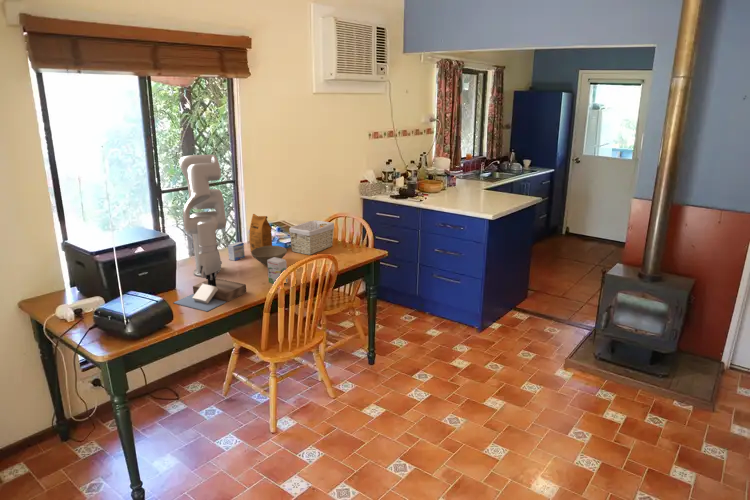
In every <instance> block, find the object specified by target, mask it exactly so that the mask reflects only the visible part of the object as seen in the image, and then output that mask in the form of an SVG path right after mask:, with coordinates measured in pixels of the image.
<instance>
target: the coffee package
mask: <svg viewBox="0 0 750 500" xmlns="http://www.w3.org/2000/svg"><path fill="white" fill-rule="evenodd" d="M268 219H269V218H268V216H267V215H256V214H255V213H253V214H252V217H251V221H250V225H249V245H250V247H249V248H250V253H251V252H252V250H254V249H256V248H259V247H263V246H273V235H272V234H273V233H272V226H271V224H270V222H269V221H268Z"/></svg>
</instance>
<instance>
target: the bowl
mask: <svg viewBox="0 0 750 500" xmlns="http://www.w3.org/2000/svg"><path fill="white" fill-rule="evenodd" d="M287 252H288V249H287V248H285V247H283V246H281V245H272V246H263V247H259V248H256V249H254V250H252V252H251V251H250V254H251V256H252V257H253V258H254V259H255V260H256V261H258V262H260V264H262V265H265V266H268V264H267V260H268V259H271V258H273V257H276V258H280V259H284V258H285V256H286V254H287Z"/></svg>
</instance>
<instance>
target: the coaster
mask: <svg viewBox="0 0 750 500" xmlns="http://www.w3.org/2000/svg"><path fill="white" fill-rule="evenodd" d="M217 290H218V289H217V287H215V286H211V285H206V284H202V285H201V287H200V288H199V289H198V291H197V292H196V293H195V295H194V296H193V297H192V298H193V299H194V300H195V301H199V302H203V303H207V304H208V303H209V301H210V300H211V298H212V297H213V296H214V294H215V293H216V292H217Z"/></svg>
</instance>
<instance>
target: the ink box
mask: <svg viewBox="0 0 750 500" xmlns="http://www.w3.org/2000/svg"><path fill="white" fill-rule="evenodd" d="M267 264H268V265H267V276H268V283H270V284H273V283H274V282H275V281H276V279H277V278H278V277H279V276H280V274H281V273H282V272H283V271H284V270H286V269H288V268H287V259H284V258H282V259H280V258H276V257H273V258H271V259H268V260H267ZM286 282H287V283H288V278H287V279H286Z"/></svg>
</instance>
